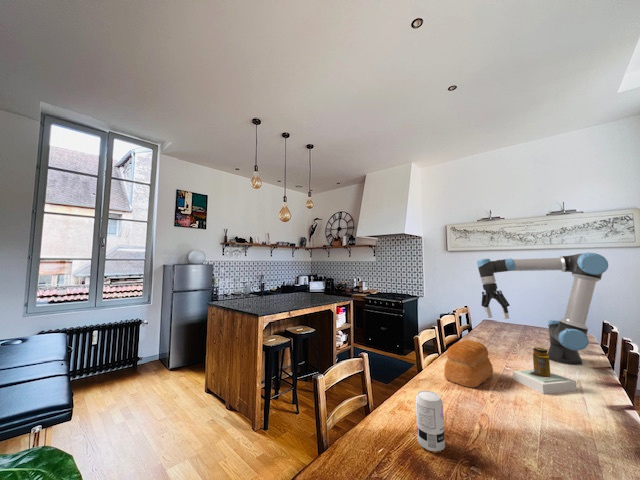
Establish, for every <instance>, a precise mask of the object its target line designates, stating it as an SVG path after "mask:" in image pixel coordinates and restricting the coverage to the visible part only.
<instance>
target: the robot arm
mask: <svg viewBox="0 0 640 480" xmlns="http://www.w3.org/2000/svg"><path fill="white" fill-rule="evenodd" d="M476 264H477V265H476V266H477V268H478V272H479V277H480V281H481V283H482V288H483V291H481V294H482V296H481V307H483V308H484V311H485V313H486V316H487V319H490V318H493V316H492V314H493V313H492V312H491V307H490V303H491V300H492V299H494V300H496V302H497V303H498V304H499V305H500V306H501V310H502V315H503V320H508V319H510V316H509V315H510V314H509V310H508V307H510V303H509V301H508V300H507V298H506V297H505V295H504V294H503V291H502V290H501V289H500V290H498V285H497V283H496V282H497V280H496V276H495V274H497V273H503V272H505V273H506V272H527V271H528V272H533V271H537V272H538V271H544V272H545V271H561V272H563V273H571V276H573V278H574V279H573V282H572V285H571V290H570V293H569V298H568V301H567V305H566V310H565V314H564V317H563V318H562V319H560V320H555V319H554V320H553V319H550V320H549V321H548V324H547V326H548V334H549V345H550V346H549V349H548V350H547V353H548V356H549V361H553V362H557V363H560V364H565V365H574V366H576V365H577V366H578V365H582V364H583V359H582V357H581V355H580V353H579V351H582V350H585V349H586V348H587V347H588V346H589V343H590V341H589V337H588V336H587V335H588V331H589V328H588V327H587V325H586V322H587V319H588V316H589V311H590V307H591V302H592V299H593V296H594V295H593V294H594V291H595V288H596V285H597V284H596V283H597V282H599V281H601V279H602V277H603V274H604V273H605V272H606V271H607V270H608V269H609V261H608V260H607V258H605V256H603V255H602V254H599V253H596V252H584V253H583V252H582V253H576V254H572V255H561V256H559V257H550V258H549V257H548V258H547V257H545V258H520V259H519V258H518V259H516V258H515V259H513V258H504V259H496V260H491V259H490V258H483V259H482V258H481V259H478V260H476Z"/></svg>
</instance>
